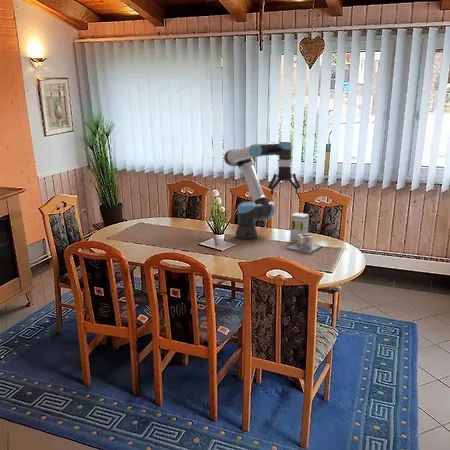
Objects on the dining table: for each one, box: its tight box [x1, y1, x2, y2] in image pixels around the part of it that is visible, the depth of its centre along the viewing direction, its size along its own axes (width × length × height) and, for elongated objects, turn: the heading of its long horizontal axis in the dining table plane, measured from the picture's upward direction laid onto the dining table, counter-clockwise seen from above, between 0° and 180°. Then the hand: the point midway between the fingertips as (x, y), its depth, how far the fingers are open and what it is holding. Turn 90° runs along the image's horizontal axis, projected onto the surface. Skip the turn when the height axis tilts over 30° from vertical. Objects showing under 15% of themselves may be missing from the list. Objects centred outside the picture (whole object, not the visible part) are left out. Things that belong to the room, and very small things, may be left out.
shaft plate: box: [286, 241, 323, 255], centre depth 289 cm, size 16×17×6 cm
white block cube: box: [297, 233, 313, 248], centre depth 288 cm, size 7×7×7 cm
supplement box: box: [289, 212, 310, 242], centre depth 307 cm, size 10×9×17 cm
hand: (283, 199), depth 294 cm, fingers open, 13 cm apart
